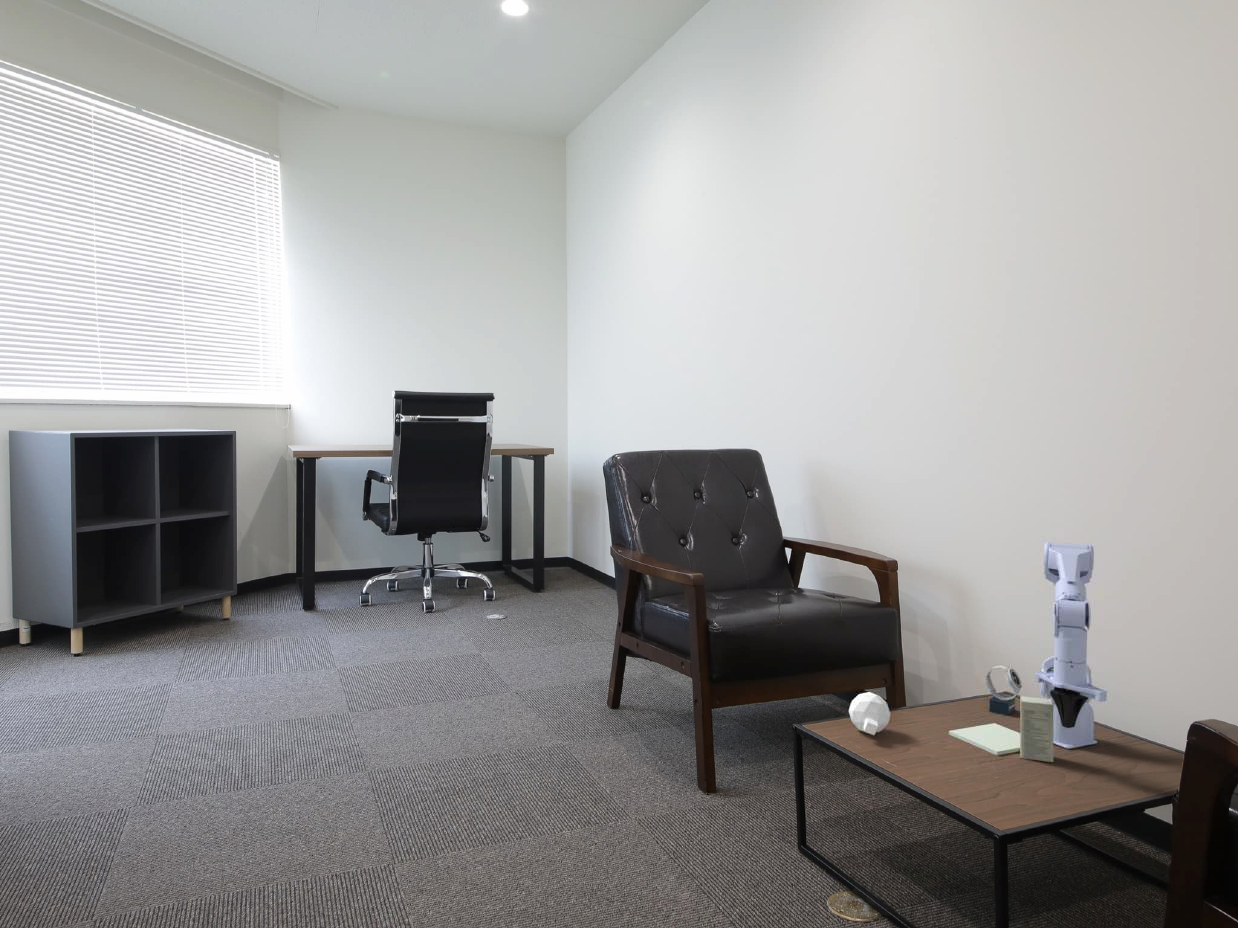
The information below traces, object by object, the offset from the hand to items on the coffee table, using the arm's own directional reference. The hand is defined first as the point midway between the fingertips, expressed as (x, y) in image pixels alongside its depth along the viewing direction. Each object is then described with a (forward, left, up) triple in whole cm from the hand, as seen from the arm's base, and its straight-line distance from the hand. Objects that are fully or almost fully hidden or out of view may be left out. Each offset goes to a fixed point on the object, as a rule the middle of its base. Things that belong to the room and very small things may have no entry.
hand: (1068, 726), depth 163 cm
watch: (-18, -31, -9) cm, 37 cm away
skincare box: (0, -7, -9) cm, 12 cm away
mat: (0, -17, -9) cm, 20 cm away
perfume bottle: (+24, -31, -9) cm, 41 cm away
